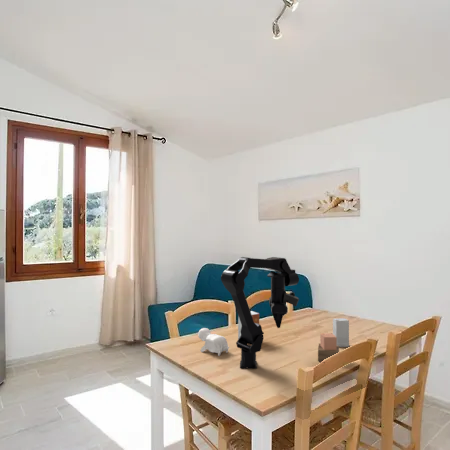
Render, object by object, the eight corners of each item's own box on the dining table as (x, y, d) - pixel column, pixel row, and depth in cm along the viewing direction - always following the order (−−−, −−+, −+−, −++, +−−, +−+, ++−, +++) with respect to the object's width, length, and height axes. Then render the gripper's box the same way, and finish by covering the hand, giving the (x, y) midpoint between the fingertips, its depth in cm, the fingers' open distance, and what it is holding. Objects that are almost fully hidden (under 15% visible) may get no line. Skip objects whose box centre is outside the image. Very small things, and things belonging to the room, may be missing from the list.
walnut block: (338, 364, 133) (339, 352, 133) (317, 362, 136) (318, 349, 136) (338, 357, 141) (338, 345, 141) (318, 355, 143) (318, 343, 143)
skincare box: (344, 343, 157) (345, 317, 157) (349, 347, 152) (349, 320, 152) (332, 344, 156) (332, 317, 156) (336, 347, 152) (336, 320, 152)
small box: (245, 344, 155) (246, 315, 155) (237, 340, 161) (237, 312, 161) (259, 340, 160) (259, 313, 160) (251, 337, 165) (251, 310, 165)
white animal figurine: (227, 357, 147) (204, 338, 156) (233, 341, 145) (209, 322, 154) (214, 363, 140) (190, 342, 149) (220, 346, 138) (196, 326, 147)
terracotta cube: (336, 349, 136) (336, 337, 136) (324, 349, 136) (324, 337, 136) (332, 345, 141) (332, 333, 141) (320, 345, 141) (320, 333, 141)
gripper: (300, 292, 132) (300, 332, 132) (294, 284, 150) (294, 319, 150) (272, 291, 132) (271, 331, 132) (269, 283, 151) (268, 318, 151)
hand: (277, 324), depth 141 cm, fingers open, 9 cm apart
